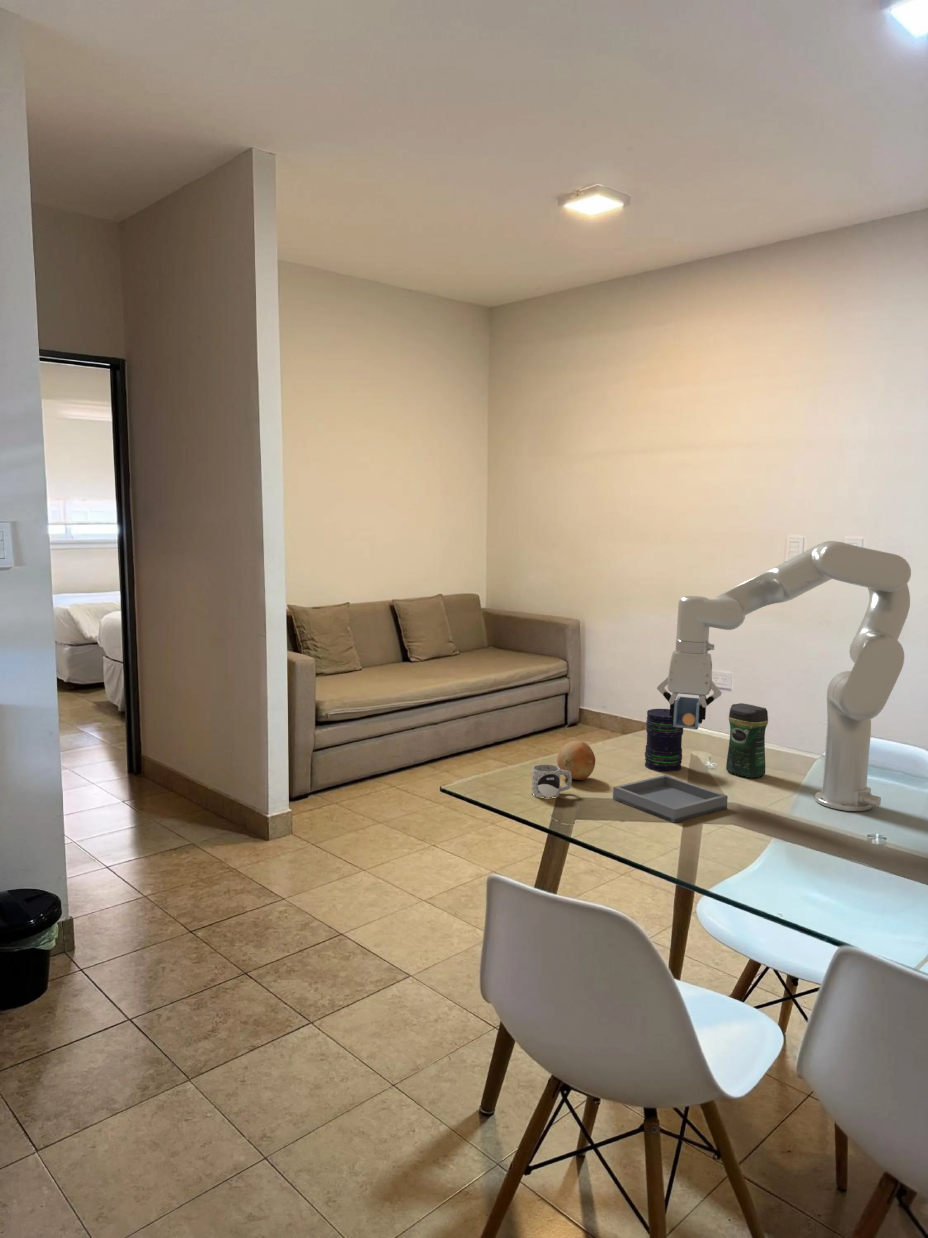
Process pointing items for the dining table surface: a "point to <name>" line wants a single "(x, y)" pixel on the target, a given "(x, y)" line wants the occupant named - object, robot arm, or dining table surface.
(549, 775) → the mug
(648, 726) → the storage jar
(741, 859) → the dining table surface
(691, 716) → the ball
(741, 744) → the coffee jar
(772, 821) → the dining table surface
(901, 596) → the robot arm
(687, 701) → the blue open box
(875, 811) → the dining table surface
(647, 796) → the tray
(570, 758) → the onion
